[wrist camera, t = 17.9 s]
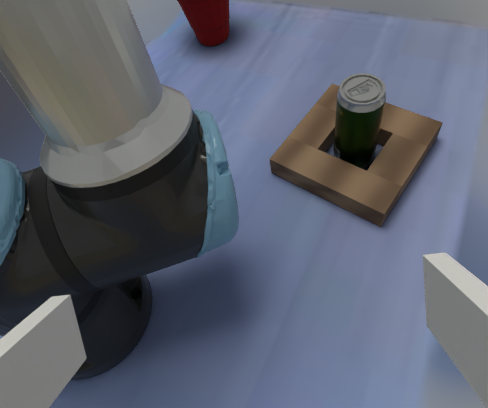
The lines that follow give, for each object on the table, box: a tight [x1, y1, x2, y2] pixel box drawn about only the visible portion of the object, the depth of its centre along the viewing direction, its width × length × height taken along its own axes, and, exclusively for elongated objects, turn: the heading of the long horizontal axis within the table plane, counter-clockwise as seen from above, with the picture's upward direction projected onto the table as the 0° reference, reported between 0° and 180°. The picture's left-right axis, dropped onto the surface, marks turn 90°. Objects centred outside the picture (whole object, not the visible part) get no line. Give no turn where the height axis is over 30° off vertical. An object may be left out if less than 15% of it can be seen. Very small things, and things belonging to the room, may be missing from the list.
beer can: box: [334, 73, 386, 169], centre depth 49 cm, size 5×5×12 cm
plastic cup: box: [177, 0, 229, 46], centre depth 68 cm, size 11×11×12 cm
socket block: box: [270, 84, 442, 227], centre depth 53 cm, size 16×16×3 cm
